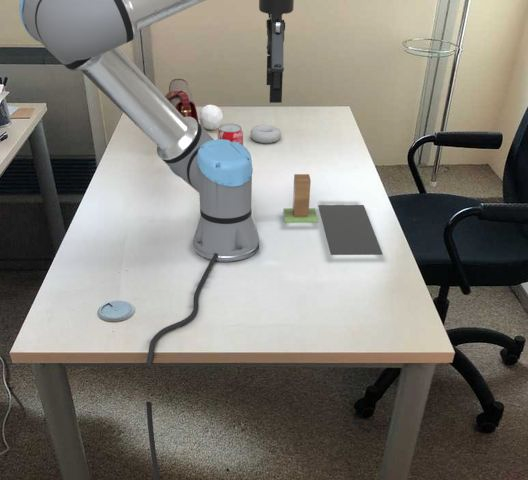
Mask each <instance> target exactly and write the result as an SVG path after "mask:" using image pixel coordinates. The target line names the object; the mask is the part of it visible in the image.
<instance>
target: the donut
mask: <svg viewBox="0 0 528 480" xmlns="http://www.w3.org/2000/svg"><path fill="white" fill-rule="evenodd" d="M249 133H250V134H249V136H250V138H251V139H252V140H253V141H254V142H255V143H256V142H257V143H260V144H272V143H276V142H278V141H279V140H280V139H281V137H282V132H281V130H280V129H279V128H278V127H277V126H274V125H269V124H262V125H261V124H260V125H256V126H253V128H252V129H251V130H250V131H249Z"/></svg>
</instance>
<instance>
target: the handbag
mask: <svg viewBox="0 0 528 480" xmlns="http://www.w3.org/2000/svg"><path fill="white" fill-rule="evenodd" d="M164 96H165V98H166V99H167V100H168V101H169V102H170V103H171V104H172V105H173V106H174V107H175V108H176V109H177V110H178V111H179V113H180V114H181V115H182V116H183V117H192V118H194V119H195V120H196V121H197V122H198V123H199V124H200V119H199V115H198V111H197V107H196V105H195V104H196V103H195V102H194V98H193V94H192V92H191V89H190V87H189V84H188V82H187V81H186V80H185V79H184V78H174V79H172V80H171V81H170V83H169V86H168V93H166V94H165V95H164Z"/></svg>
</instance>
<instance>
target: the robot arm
mask: <svg viewBox="0 0 528 480" xmlns="http://www.w3.org/2000/svg"><path fill="white" fill-rule="evenodd" d="M205 1H206V0H19V3H18V10H19V18H20V21H21V23H22V25H23V28H24V30H25V31H26V32H27V34H28V35H29V36H30V37H31V38H32V39H34V40H35V41H36V42H39V43H40V44H41V45H42V46H43V47H44V48H45V49H46V50H48V52H49V53H51V55H52V56H54V57H55V58H56V60H58V61H59V62H60V63H61V64H62V65H63V66H64V67H65V68H66V69H67V70H68V71H74V72H75V71H80V72H81V73H82V74H83V75H84V76H85V77H86V78H88V80H90V81H91V82H92V83H93V84H94V85H95V86H96V88H98V89H99V90H100V92H102V93H103V94H104V95H105V96H106V97H107V98H108V99H109V100H110V101H111V102H112V103H113V104H114V105H115V106H116V107H117V108H118V109H119V110H120V111H121V112H122V113H124V115H125V116H126V117H128V119H130V120H131V121H132V122H133V123H134V125H136V127H138V128H139V130H141V131H142V132H143V133H144V134H145V135H146V136H147V137H148V138H149V139H150V140H151V141H152V142H153V143H154V144H155V145H156V153H157V156H158V157H159V158H160V159H161V160H162V161H163V162H164V163H165V164H166V165H167V166H168V167H169V169H170V171H171V172H172V173H173V174H175V175H176V176H177V177H179V178H181V179H182V180H183V181H184V182H185V183H186V184H188V185H189V186H190V187H191V188H193V189H194V190H195V191H196V192H197V193H198V196H199V213H200V215H199V219H198V223H197V226H196V229H195V233H194V236H193V249H194V251H195V253H197V254H198V255H199V256H200V257H202V258H204V259H206V260H209V262H208V265H207V266H206V269H205V271H204V272H203V274H202V277H201V279H200V280H199V282H198V284H197V287H196V290H195V292H194V294H193V308H192V311H191V313H190V314H189V315H188V316H187V317H186V318H184V319H182V320H180V321H177V322H175V323H172V324H170V325H167V326H165V327H163V328H162V329H160V330H159V331H158V332H157V333H156V334H155V335H154V336H153V337H152V338H151V340H150V342H149V346H148V353H147V359H146V366H147V367H151V366H152V365H153V361H154V355H155V354H154V353H155V347H156V344H157V342H158V340H159V339H160V338H161V337H162V336H164V335H166V333H169V332H170V331H174V330H175V329H178V328H181V327H183V326H185V325H187V324H188V323H190V322H191V321H192V320H194V318H195V317H196V316H197V314H198V312H199V297H200V294H201V291H202V289H203V286H204V284H205V282H206V281H207V279H208V277H209V274H210V272H211V270H212V268H213V266H214V264H215V263H216V262H220V263H221V262H222V263H231V262H238V261H243V260H245V259H248V258H250V257H252V256H254V255H255V254H256V253H257V252H258V250H259V248H260V239H259V234H258V231H257V229H256V225H255V223H254V220H253V216H252V201H253V199H252V198H253V195H252V194H253V193H252V191H253V171H254V169H253V164H252V163H253V162H252V155H251V153H250V151H249V150H248V148H247V147H246V146H245V145H244V144H243V145H241V144H239V143H237V142H230V140H224V139H218V138H217V139H215V138H213V137H212V136H211V135H210V134H209V133H208V132H207V130H206V128H205V127H203V126H202V125H201V123H200V122H199V123H198V122H197V121H196V120H195V119H194V118H192V117H183V116H182V115H181V114H180V113H179V111H178V110H177V109H176V108H175V107H174V106H173V105H172V104H171V103H170V102H169V100H167V99H166V98H165V96H166V95H164V94H163V93H162V92H161V91H160V90H159V88H157V87H156V85H155V84H153V82H152V81H151V80H150V79H149V78H148V77H147V76H146V75H145V73H143V72H142V70H140V68H139V67H138V66H137V65H136V63H134V62H133V61H132V59H131V58H129V57H128V56H127V54H126V53H125V52H124V51H123V50H122V49H121V46H123V45H126V44H128V43H129V42H132V41H134V40H135V38H136V35H137V32H138V31H140V30H142V29H145V28H147V27H150V26H152V25H154V24H156V23H159V22H160V21H163V20H165V19H168V18H169V17H172V16H174V15H176V14H179V13H181V12H182V11H185V10H187V9H190V8H192V7H194V6H196V5H199V4H201V3H203V2H205ZM294 1H295V0H258V8H259V11H260V12H261V13H263V14H267V15H268V19H266V23H265V24H266V36H267V42H266V50H267V51H266V54H267V56H266V86H269V103H270V104H271V103H272V104H273V103H275V104H276V103H277V104H280V103H281V104H282V103H283V78H284V77H283V76H284V70H285V67H284V43H285V31H286V22H285V19H283V15H284V14H285V15H288V14H290V13H292V12H293V11H294V7H295V5H294V3H295V2H294ZM145 403H146V404H145V406H146V421H147V422H146V423H147V432H148V441H149V448H150V456H151V463H152V470H153V477H154V480H161V479H160V472H159V464H158V456H157V449H156V442H155V434H154V433H155V432H154V423H153V422H154V421H153V405H152V404H153V403H152V402H151V401H146V402H145Z"/></svg>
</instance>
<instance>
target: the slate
mask: <svg viewBox="0 0 528 480" xmlns="http://www.w3.org/2000/svg"><path fill="white" fill-rule="evenodd" d="M317 208H318V211H319V215H320V219H321V223H322V226H323V231H324V234H325V239H326V242H327V245H328V251H329V253H330V256H383V255H384V254H383V251H382V249H381V246H380V243H379V240H378V238H377V235H376V233H375V230H374V227H373V225H372V223H371V220H370V217H369V214H368V212H367V210H366V207H365V205H364V204H317Z"/></svg>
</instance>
